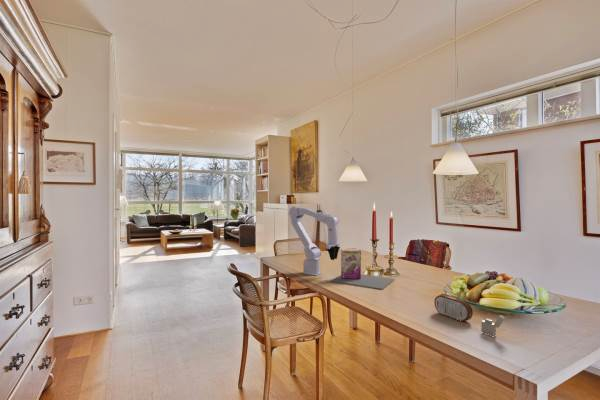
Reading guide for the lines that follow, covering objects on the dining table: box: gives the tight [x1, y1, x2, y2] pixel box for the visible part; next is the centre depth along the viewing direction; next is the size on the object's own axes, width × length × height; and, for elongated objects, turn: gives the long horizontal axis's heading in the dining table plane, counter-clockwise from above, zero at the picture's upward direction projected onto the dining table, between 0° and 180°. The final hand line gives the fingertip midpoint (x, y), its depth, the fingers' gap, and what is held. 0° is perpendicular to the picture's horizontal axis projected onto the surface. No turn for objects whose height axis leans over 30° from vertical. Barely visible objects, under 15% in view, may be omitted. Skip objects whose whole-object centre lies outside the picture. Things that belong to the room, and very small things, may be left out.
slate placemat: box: [329, 273, 395, 291], centre depth 181 cm, size 30×22×1 cm
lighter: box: [480, 314, 506, 337], centre depth 110 cm, size 7×2×8 cm, turn 32°
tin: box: [433, 293, 474, 322], centre depth 127 cm, size 15×3×8 cm, turn 32°
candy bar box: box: [340, 248, 362, 279], centre depth 185 cm, size 11×5×16 cm, turn 85°
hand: (333, 259), depth 191 cm, fingers open, 3 cm apart
